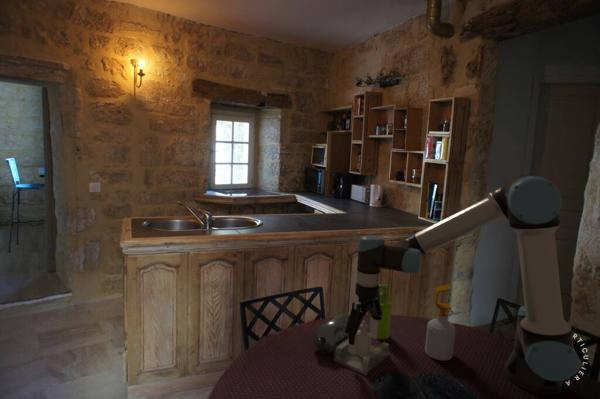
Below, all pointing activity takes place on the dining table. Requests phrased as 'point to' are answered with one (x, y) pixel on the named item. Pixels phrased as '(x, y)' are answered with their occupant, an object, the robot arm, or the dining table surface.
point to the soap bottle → (440, 331)
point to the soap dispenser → (384, 313)
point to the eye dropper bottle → (363, 341)
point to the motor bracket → (346, 346)
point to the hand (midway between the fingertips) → (363, 344)
